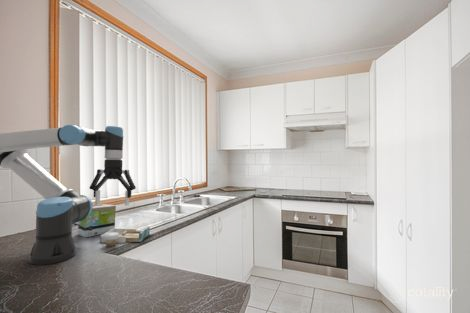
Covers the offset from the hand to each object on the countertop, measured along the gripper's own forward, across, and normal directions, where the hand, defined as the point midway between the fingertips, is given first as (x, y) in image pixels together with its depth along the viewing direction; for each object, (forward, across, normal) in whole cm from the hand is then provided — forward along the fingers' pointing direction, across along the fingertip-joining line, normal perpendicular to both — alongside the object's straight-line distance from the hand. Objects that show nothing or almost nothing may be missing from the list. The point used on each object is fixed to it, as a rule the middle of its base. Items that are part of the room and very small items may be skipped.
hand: (112, 204), depth 112 cm
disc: (+15, 0, 0) cm, 15 cm away
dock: (+19, 0, -10) cm, 22 cm away
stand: (+19, 0, 0) cm, 19 cm away
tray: (+19, -6, -10) cm, 22 cm away
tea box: (+19, +17, -19) cm, 32 cm away
